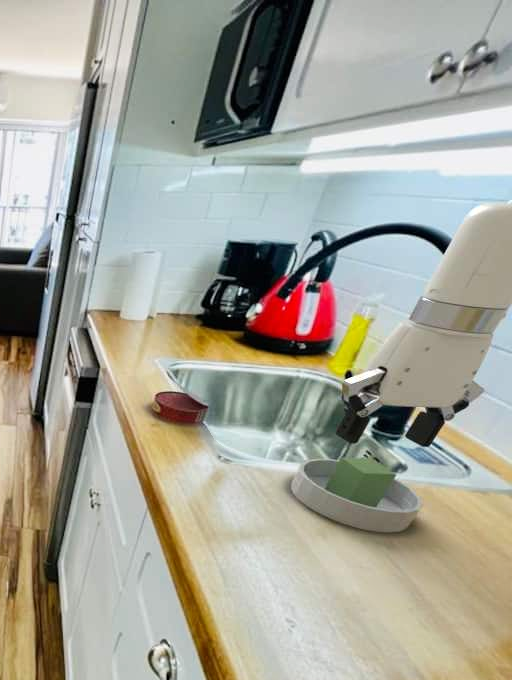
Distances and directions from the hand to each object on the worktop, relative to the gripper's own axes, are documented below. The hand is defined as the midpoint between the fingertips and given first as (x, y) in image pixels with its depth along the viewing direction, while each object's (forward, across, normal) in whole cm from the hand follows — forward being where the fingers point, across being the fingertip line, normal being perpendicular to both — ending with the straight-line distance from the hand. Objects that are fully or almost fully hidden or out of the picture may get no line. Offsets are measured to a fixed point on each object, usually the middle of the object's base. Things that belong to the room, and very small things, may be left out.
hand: (380, 440), depth 67 cm
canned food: (+11, +12, -30) cm, 34 cm away
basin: (+11, 0, 0) cm, 11 cm away
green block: (+10, 0, 0) cm, 10 cm away
